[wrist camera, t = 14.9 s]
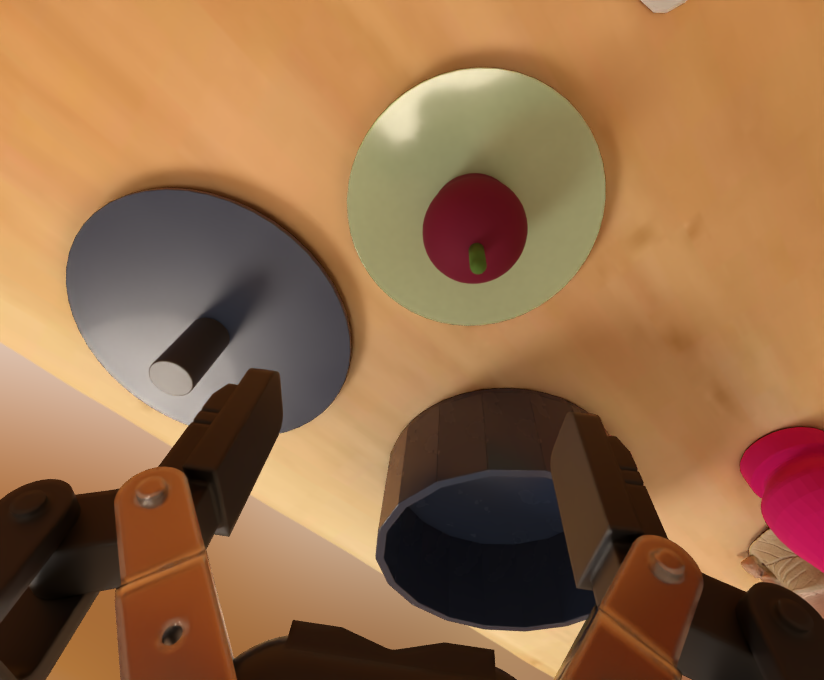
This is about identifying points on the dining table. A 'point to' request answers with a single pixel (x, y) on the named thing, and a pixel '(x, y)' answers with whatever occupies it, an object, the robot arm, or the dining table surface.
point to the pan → (481, 514)
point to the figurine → (785, 569)
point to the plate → (487, 154)
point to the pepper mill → (791, 488)
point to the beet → (474, 229)
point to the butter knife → (662, 5)
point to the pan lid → (205, 303)
